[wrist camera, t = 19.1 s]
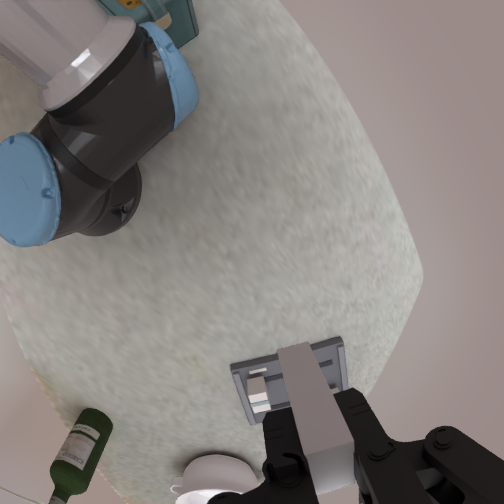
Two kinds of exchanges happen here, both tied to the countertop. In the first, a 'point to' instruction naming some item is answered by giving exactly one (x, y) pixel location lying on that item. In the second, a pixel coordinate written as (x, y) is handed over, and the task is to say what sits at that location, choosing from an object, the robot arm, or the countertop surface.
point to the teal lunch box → (158, 15)
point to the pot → (212, 479)
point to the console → (269, 367)
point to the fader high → (258, 394)
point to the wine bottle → (79, 455)
